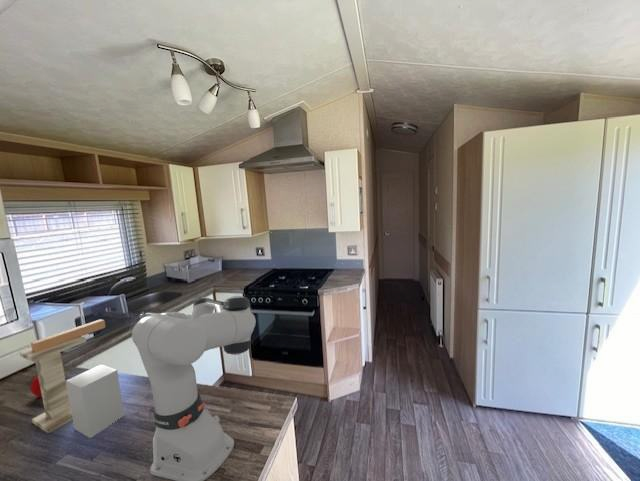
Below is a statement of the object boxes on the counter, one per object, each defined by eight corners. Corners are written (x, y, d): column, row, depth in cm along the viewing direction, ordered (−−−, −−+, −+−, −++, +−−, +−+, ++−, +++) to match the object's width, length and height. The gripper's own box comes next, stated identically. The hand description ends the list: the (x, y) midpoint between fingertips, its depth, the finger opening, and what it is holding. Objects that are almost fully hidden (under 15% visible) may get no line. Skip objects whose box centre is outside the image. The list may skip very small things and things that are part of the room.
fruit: (56, 396, 108) (52, 373, 107) (26, 403, 105) (21, 379, 104) (68, 383, 117) (64, 361, 115) (41, 389, 113) (37, 366, 112)
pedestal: (124, 416, 95) (117, 369, 93) (90, 438, 86) (81, 387, 84) (108, 408, 99) (101, 364, 97) (74, 428, 90) (65, 380, 88)
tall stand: (98, 405, 101) (86, 338, 98) (48, 433, 89) (33, 358, 86) (81, 397, 107) (70, 333, 104) (32, 422, 94) (18, 351, 91)
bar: (105, 327, 107) (104, 320, 107) (36, 352, 90) (34, 343, 89) (101, 326, 109) (100, 319, 108) (32, 350, 91) (30, 342, 91)
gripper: (186, 331, 126) (159, 327, 115) (158, 325, 135) (131, 321, 124) (190, 317, 128) (164, 312, 117) (163, 312, 138) (136, 307, 126)
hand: (147, 317), depth 121 cm, fingers open, 8 cm apart
